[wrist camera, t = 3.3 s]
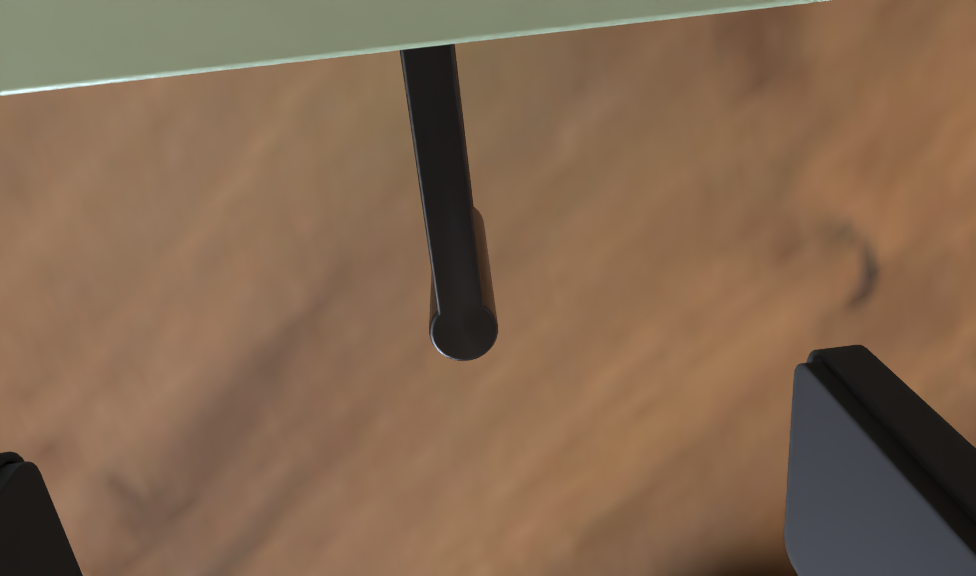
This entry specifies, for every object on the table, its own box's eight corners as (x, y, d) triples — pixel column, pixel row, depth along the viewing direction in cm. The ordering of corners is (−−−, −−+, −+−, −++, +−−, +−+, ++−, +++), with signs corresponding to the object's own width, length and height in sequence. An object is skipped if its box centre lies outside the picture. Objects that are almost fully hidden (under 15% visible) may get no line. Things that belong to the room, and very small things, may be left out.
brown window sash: (545, -100, 17) (629, -133, 9) (567, 222, 20) (643, 400, 12) (128, -53, 17) (-136, -47, 9) (213, 262, 20) (67, 466, 12)
